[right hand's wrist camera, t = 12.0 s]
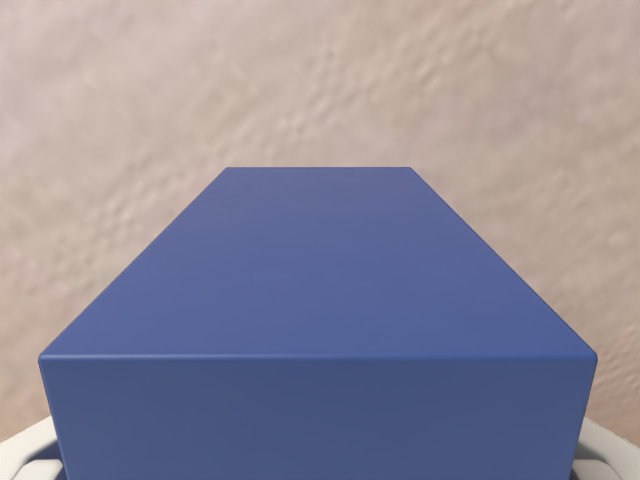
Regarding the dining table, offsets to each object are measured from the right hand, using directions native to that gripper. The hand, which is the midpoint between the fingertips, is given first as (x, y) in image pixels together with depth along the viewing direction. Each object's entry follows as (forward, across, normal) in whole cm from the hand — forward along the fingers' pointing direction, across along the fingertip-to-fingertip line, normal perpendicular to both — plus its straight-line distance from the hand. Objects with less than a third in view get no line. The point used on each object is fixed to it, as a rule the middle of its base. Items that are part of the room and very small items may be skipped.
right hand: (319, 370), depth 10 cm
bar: (+4, 0, -8) cm, 9 cm away
